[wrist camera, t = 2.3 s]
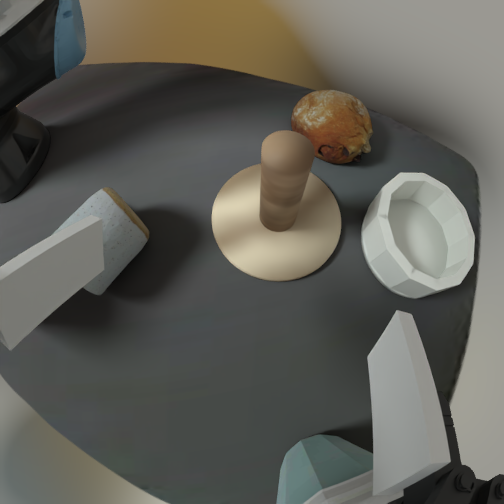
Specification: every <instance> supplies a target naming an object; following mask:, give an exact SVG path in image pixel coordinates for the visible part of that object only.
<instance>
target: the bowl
mask: <svg viewBox="0 0 504 504" xmlns="http://www.w3.org/2000/svg"><path fill="white" fill-rule="evenodd" d="M474 242H475V236H474V233H473V229H472V226H471V224H470V221H469V218H468V215H467V212H466V210H465V208H464V206H463V205H462V204H461V203H460V201H459V200H458V199H457V198H456V196H455V195H454V194H453V193H452V191H451V190H450V189H449V188H448V187H447V186H446V185H444V184H443V183H441V182H439V181H437V180H436V179H434V178H432V177H430V176H428V175H427V174H425V173H399V174H398V175H397V176H396V177H395V178H393V179H392V180H391V181H390V182H388V183H387V184H386V185H385V186H384V187H383V188H382V189H381V190H380V192H379V193H378V194H377V196H376V197H375V198H374V200H373V201H372V203H371V204H370V205H369V207H368V211H367V213H366V215H365V217H364V219H363V222H362V227H361V245H362V251H363V254H364V257H365V260H366V262H367V265H368V267H369V268H370V270H371V272H372V273H373V275H374V276H375V277H376V279H377V280H378V281H379V282H380V283H381V284H382V285H383V286H384V287H385V288H386V289H388V290H389V291H391V292H392V293H394V294H396V295H398V296H401V297H405V298H414V299H416V298H422V297H425V296H428V295H432V294H435V293H439V292H441V291H444V290H447V289H449V288H452V287H454V286H457V285H459V284H461V282H462V281H463V279H464V278H465V276H466V274H467V273H468V271H469V270H470V268H471V267H472V265H473V260H474Z"/></svg>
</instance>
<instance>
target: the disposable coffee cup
mask: <svg viewBox="0 0 504 504" xmlns="http://www.w3.org/2000/svg"><path fill="white" fill-rule="evenodd" d="M372 494H373V453H371V452H368V451H366V450H364V449H362V448H360V447H358V446H356V445H354V444H352V443H350V442H348V441H346V440H344V439H342V438H340V437H338V436H331V435H322V434H319V435H315V436H312V437H309V438H305V439H302V440H300V441H299V442H298V443H297V444H296V445H295V446H293V447H292V448H291V449H290V450H289V451H288V452H287V453H286V455H285V458H284V461H283V463H282V466H281V471H280V479H279V488H278V496H277V504H387V503H389V502H391V501H393V500H396V499H398V498H400V497H402V496H403V490H401V491H399V492H397V493H395V494H393V495H381V496H372Z"/></svg>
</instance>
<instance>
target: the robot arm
mask: <svg viewBox="0 0 504 504" xmlns="http://www.w3.org/2000/svg"><path fill="white" fill-rule="evenodd" d="M85 54H86V36H85V28H84V21H83V16H82V11H81V6H80V2H79V0H0V203H4V202H7V201H9V200H11V199H12V198H14V197H15V196H16V195H17V194H19V193H20V192H21V191H22V190H23V189H24V188H25V187H26V185H27V184H28V183H29V182H30V181H31V179H32V178H33V177H34V175H35V174H36V172H37V171H38V169H39V168H40V166H41V164H42V163H43V161H44V159H45V157H46V154H47V152H48V149H49V145H50V133H49V131H48V130H47V129H46V128H45V126H44V125H43V124H42V123H41V122H39V121H37V120H36V119H34V118H32V117H30V116H28V115H26V114H24V113H23V112H21V111H19V110H18V109H17V107H16V105H18V104H19V103H20V102H22V101H23V100H25V99H26V98H27V97H29V96H30V95H32V94H33V93H34V92H36V91H37V90H39V89H40V88H42V87H43V86H45V85H47V84H48V83H50V82H51V81H53V80H55V79H59V78H60V77H61V75H63V74H64V73H66V72H68V71H69V70H71V69H73V68H74V67H76V66H78V65H79V64H80V63H81V62H82V60H83V59H84V56H85ZM103 270H104V256H103V233H102V218H99V217H96V216H93V215H89V216H87V217H86V218H84V219H82V220H80V221H78V222H76V223H74V224H72V225H70V226H68V227H66V228H64V229H63V230H61V231H59V232H57V233H55V234H53V235H52V236H50V237H48V238H46V239H45V240H43V241H41V242H39V243H38V244H36V245H34V246H33V247H31V248H29V249H28V250H26V251H24V252H23V253H21V254H19V255H17V256H15V257H14V258H12V259H11V260H9V261H8V262H7V263H4V264H3V265H1V267H0V341H1V342H2V343H3V344H4V345H5V346H6V347H7V348H8V349H9V350H10V351H11V350H12V349H13V348H14V347H15V346H16V345H17V344H18V343H19V342H20V341H21V340H22V339H23V338H25V337H26V336H27V335H28V334H29V333H30V332H31V331H32V330H33V329H34V328H35V327H37V326H38V325H39V324H40V323H41V322H42V321H43V320H44V319H45V318H47V317H48V316H49V315H50V314H51V313H52V312H53V311H55V310H56V309H57V308H58V307H59V306H60V305H62V304H63V303H64V302H65V301H66V300H68V299H69V298H70V297H71V296H72V295H74V294H75V293H76V292H77V291H78V290H80V289H81V288H82V287H83V286H85V285H86V284H87V283H88V282H89V281H91V280H92V279H93V278H94V277H96V276H97V275H98V274H100V273H101V272H102V271H103ZM367 358H368V367H369V378H370V389H371V403H372V421H373V494H372V496H381V495H393V494H395V493H397V492H399V491H401V490H403V496H402V497H400V498H398V499H396V500H393V501H391V502H389V503H387V504H504V475H501V474H499V475H497V476H495V477H494V478H492V479H491V480H489V481H484V480H480V479H476V477H475V474H474V472H473V471H472V470H471V468H470V467H468V466H466V465H462V464H461V460H460V454H459V448H458V443H457V438H456V433H455V428H454V427H453V425H454V424H453V419H452V418H451V411H450V407H449V403H448V401H447V400H446V398H445V396H444V395H443V393H442V392H440V391H436V387H435V384H434V380H433V376H432V373H431V370H430V366H429V363H428V360H427V357H426V353H425V350H424V347H423V344H422V341H421V338H420V335H419V333H418V330H417V327H416V324H415V322H414V319H413V316H412V314H409V313H406V312H402V311H399V310H397V311H396V312H395V314H394V316H393V317H392V319H391V321H390V322H389V324H388V326H387V327H386V329H385V330H384V332H383V334H382V335H381V337H380V338H379V340H378V341H377V343H376V345H375V346H374V348H373V349H372V351H371V352H370V354H369V355H368V357H367Z"/></svg>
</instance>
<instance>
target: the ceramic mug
mask: <svg viewBox="0 0 504 504" xmlns="http://www.w3.org/2000/svg"><path fill="white" fill-rule="evenodd" d="M89 215H93V216H96V217H99V218H102V233H103V256H104V270H103V271H102V272H101V273H100V274H98V275H97V276H96V277H94V278H93V279H92V280H91V281H89V282H88V283H87V284H86V285H85V286H83V288H84V289H86V290H87V291H89V292H91V293H93V294H95V295H101V294H102V293H103V292H104V291H105V290H106V289H107V287H108V286H109V285H110V284H111V283H112V281H113V280H114V279H115V278H116V277H117V276H118V275H119V274H120V272H121V271H122V270H123V269H124V268H125V267H126V266H127V264H128V263H129V262H130V261H131V260H132V259H133V258H134V257H135V256H136V255H137V254H138V253H139V252H140V251H141V250H142V248H143V247H144V245H145V244H146V242H147V241H148V239H149V231H148V229H147V227H146V226H145V225H144V223H143V222H142V221H141V220H140V219H139V217H138V216H137V215H136V214H135V213H134V212H133V210H132V209H131V208H130V207H129V206H128V205H127V203H126V202H125V201H124V200H123V199H122V198H121V197H120V196H119V195H118V194H117V193H116V192H115V191H114V190H113V189H112V188H108V187H105V188H103V189H101V190H99V191H98V192H97V193H95V194H94V195H92V196H91V197H90V198H89V199H88V200H87V201H86V202H85V203H84V204H83V205H82V206H81V207H80V208H79V209H78V210H77V211H76V212H75V213H73V214H72V215H71V216H70V217H69V218H68V219H67V220H66V221H65V222H64V223H63V224H62V225H61V226H60V227H59V228H58V229H57V230H56V231H55V232H54V233H53V234H55V233H57V232H59V231H61V230H63V229H64V228H66V227H68V226H70V225H72V224H74V223H76V222H78V221H80V220H82V219H84V218H86V217H87V216H89ZM53 234H52V235H53Z"/></svg>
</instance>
